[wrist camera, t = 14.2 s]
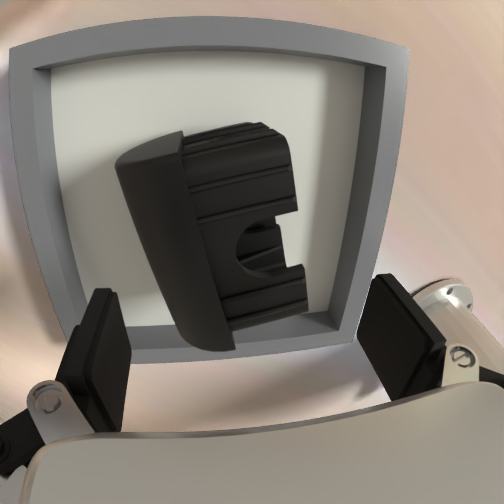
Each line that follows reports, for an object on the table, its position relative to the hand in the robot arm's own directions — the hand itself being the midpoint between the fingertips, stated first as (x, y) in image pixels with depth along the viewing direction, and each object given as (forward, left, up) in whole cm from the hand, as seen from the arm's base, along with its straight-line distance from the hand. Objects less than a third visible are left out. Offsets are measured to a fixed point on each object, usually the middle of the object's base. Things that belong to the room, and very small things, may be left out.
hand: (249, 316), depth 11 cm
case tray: (+1, +1, -10) cm, 10 cm away
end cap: (0, +1, -9) cm, 9 cm away
